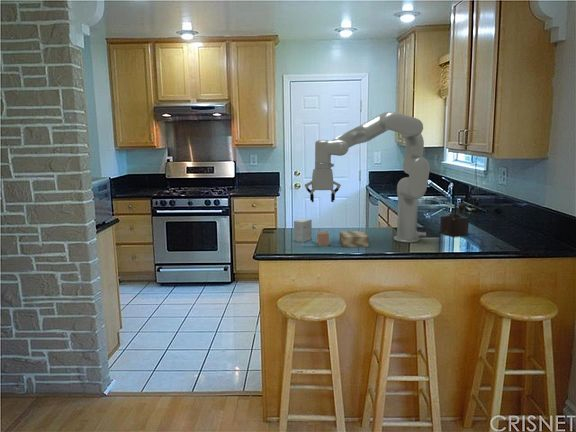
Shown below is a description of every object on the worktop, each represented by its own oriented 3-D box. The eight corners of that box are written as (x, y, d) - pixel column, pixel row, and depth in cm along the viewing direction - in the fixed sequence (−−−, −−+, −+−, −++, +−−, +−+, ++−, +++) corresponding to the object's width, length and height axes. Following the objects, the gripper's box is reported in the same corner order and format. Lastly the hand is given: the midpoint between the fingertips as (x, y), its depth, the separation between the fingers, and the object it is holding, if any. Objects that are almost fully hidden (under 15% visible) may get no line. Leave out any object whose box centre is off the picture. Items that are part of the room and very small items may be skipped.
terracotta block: (327, 243, 229) (327, 231, 228) (328, 245, 225) (328, 233, 223) (317, 243, 229) (317, 231, 228) (318, 245, 224) (318, 233, 223)
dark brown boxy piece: (438, 233, 246) (439, 200, 243) (453, 231, 251) (455, 198, 247) (460, 239, 232) (462, 204, 229) (476, 237, 237) (478, 202, 234)
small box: (303, 237, 241) (303, 218, 239) (312, 239, 238) (311, 219, 235) (293, 240, 235) (293, 220, 233) (302, 242, 231) (302, 221, 229)
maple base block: (363, 240, 233) (363, 230, 232) (368, 246, 221) (368, 236, 220) (339, 241, 232) (339, 231, 231) (343, 247, 221) (343, 237, 220)
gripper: (339, 165, 224) (338, 200, 227) (304, 165, 223) (303, 200, 226) (342, 166, 216) (341, 202, 220) (305, 167, 215) (305, 203, 219)
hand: (322, 201), depth 223 cm, fingers open, 9 cm apart
